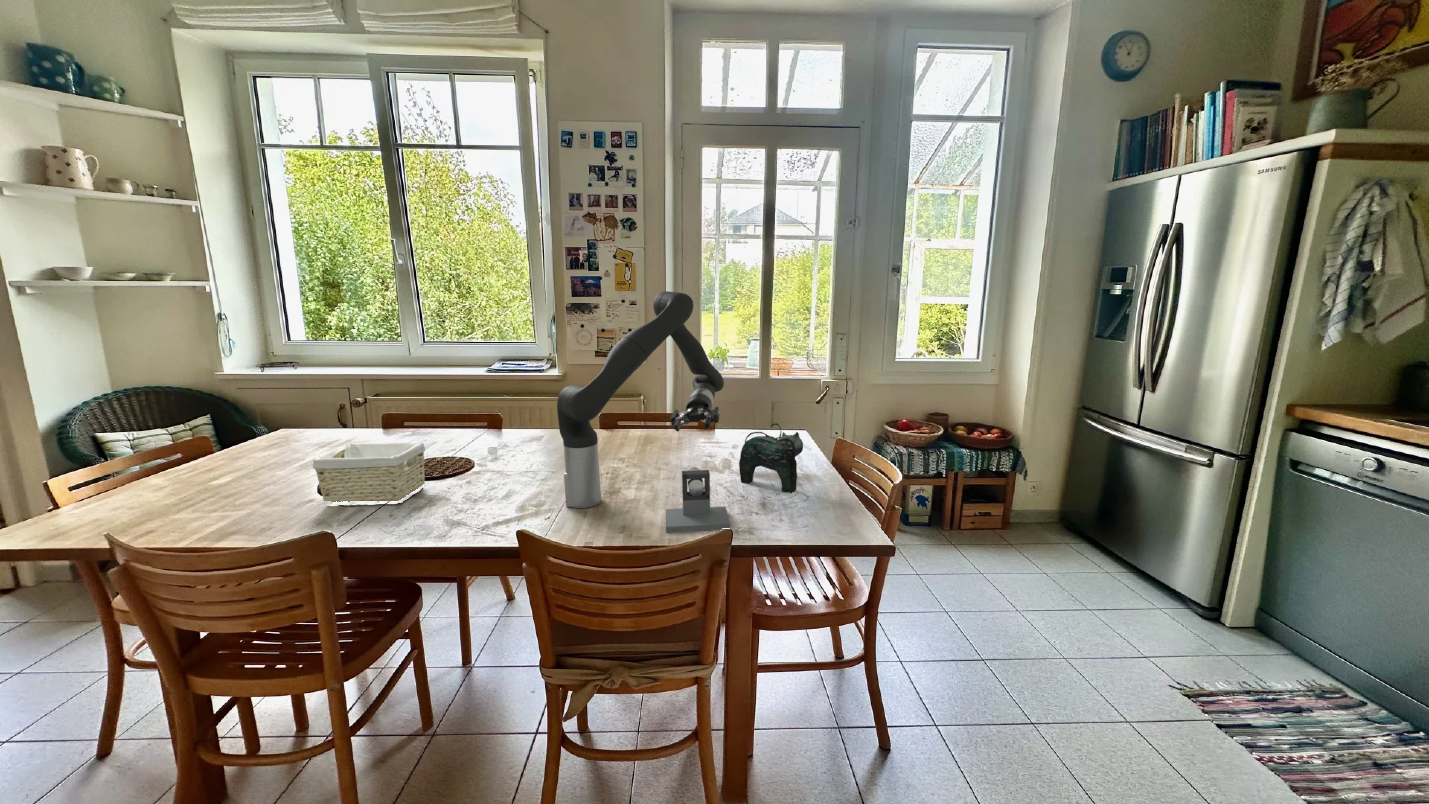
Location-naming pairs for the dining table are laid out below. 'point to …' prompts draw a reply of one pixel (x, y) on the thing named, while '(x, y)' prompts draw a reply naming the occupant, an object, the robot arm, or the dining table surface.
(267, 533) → the dining table surface
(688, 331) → the robot arm
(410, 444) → the storage basket
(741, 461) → the ceramic cat
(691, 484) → the steel peg
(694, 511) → the base plate
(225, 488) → the dining table surface
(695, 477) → the rubber collar
